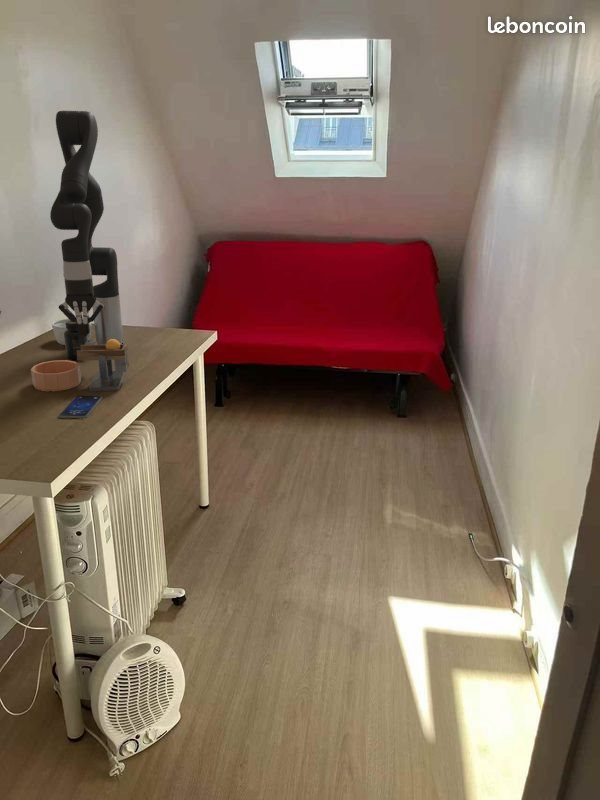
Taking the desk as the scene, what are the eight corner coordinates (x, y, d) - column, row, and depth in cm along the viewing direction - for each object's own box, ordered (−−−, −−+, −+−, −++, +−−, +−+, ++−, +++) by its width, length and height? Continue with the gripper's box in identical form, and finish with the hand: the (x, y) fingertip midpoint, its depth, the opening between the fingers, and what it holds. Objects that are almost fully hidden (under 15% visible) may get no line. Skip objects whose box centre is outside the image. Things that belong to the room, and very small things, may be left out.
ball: (107, 350, 174) (106, 337, 172) (121, 350, 174) (120, 337, 173) (105, 354, 170) (103, 341, 169) (119, 354, 171) (118, 340, 169)
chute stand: (97, 374, 181) (94, 344, 177) (124, 374, 182) (121, 343, 179) (89, 391, 168) (85, 358, 165) (118, 390, 169) (115, 357, 166)
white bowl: (101, 340, 216) (99, 321, 213) (70, 349, 205) (68, 329, 203) (77, 334, 222) (74, 316, 220) (46, 342, 212) (43, 323, 209)
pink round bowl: (40, 377, 178) (37, 360, 176) (84, 375, 180) (82, 359, 178) (28, 392, 166) (26, 374, 164) (76, 390, 168) (73, 373, 166)
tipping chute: (88, 357, 183) (85, 337, 181) (131, 356, 185) (130, 336, 183) (78, 373, 169) (76, 351, 167) (126, 372, 171) (124, 350, 169)
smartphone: (103, 395, 164) (86, 417, 150) (104, 398, 164) (86, 420, 150) (76, 394, 164) (56, 416, 150) (76, 397, 164) (56, 419, 150)
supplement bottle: (92, 355, 199) (88, 319, 195) (83, 361, 193) (79, 325, 188) (72, 354, 200) (68, 319, 195) (63, 360, 193) (58, 324, 189)
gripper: (104, 274, 175) (109, 332, 181) (56, 274, 173) (64, 332, 179) (100, 278, 168) (106, 338, 174) (50, 279, 166) (58, 339, 173)
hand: (84, 335), depth 177 cm, fingers closed
